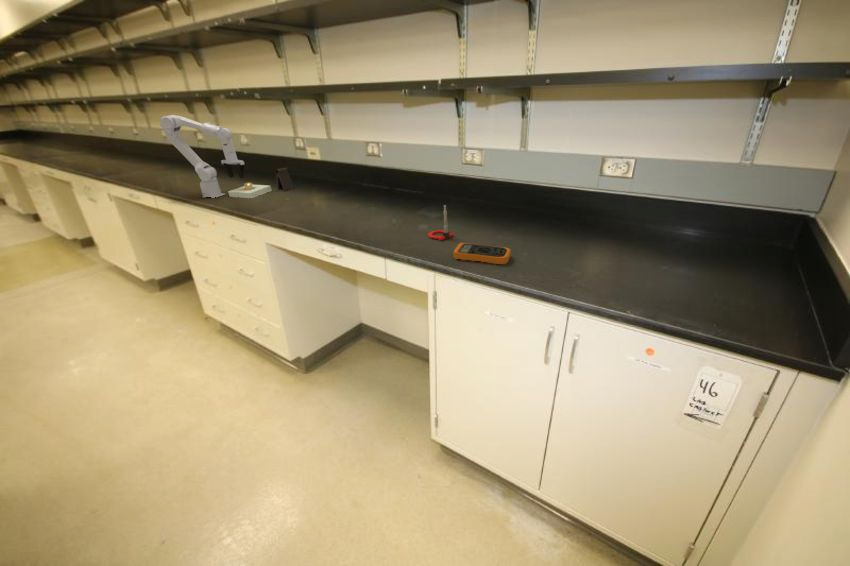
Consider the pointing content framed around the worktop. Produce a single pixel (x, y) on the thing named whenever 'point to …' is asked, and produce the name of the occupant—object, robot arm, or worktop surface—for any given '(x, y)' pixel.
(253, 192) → the plate
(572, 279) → the worktop surface
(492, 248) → the multimeter
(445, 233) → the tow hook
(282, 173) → the phone stand
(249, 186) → the cylinder
